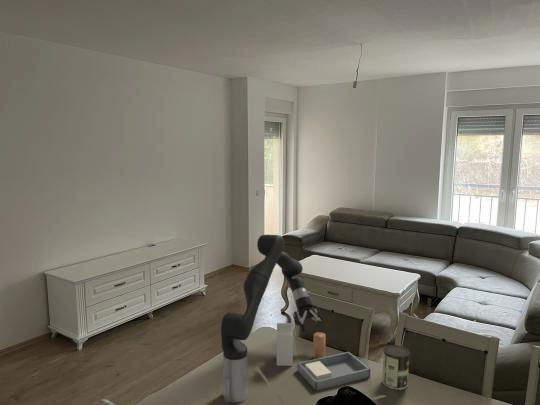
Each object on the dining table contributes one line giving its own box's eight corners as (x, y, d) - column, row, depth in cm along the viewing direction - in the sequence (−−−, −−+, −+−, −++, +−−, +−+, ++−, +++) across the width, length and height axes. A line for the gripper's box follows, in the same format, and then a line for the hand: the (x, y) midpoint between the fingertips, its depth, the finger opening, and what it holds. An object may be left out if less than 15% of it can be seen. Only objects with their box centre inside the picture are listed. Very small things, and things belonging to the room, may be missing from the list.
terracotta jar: (316, 363, 185) (317, 338, 183) (310, 358, 190) (311, 333, 188) (327, 361, 187) (327, 336, 185) (321, 355, 192) (321, 331, 190)
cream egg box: (316, 385, 166) (316, 376, 166) (304, 373, 175) (305, 364, 175) (331, 381, 169) (331, 372, 168) (319, 369, 178) (319, 361, 178)
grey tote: (315, 392, 163) (315, 382, 162) (297, 372, 178) (297, 362, 177) (370, 379, 173) (370, 369, 172) (348, 361, 188) (348, 351, 187)
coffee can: (406, 377, 175) (408, 346, 173) (409, 391, 165) (411, 358, 163) (381, 374, 177) (382, 343, 175) (382, 388, 167) (384, 355, 165)
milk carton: (292, 367, 181) (293, 326, 179) (276, 367, 182) (276, 326, 179) (292, 359, 188) (292, 320, 186) (276, 359, 189) (277, 319, 186)
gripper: (291, 297, 196) (302, 330, 187) (317, 293, 201) (329, 325, 192) (286, 304, 201) (296, 336, 192) (312, 300, 207) (323, 331, 198)
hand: (313, 331), depth 192 cm, fingers open, 8 cm apart
